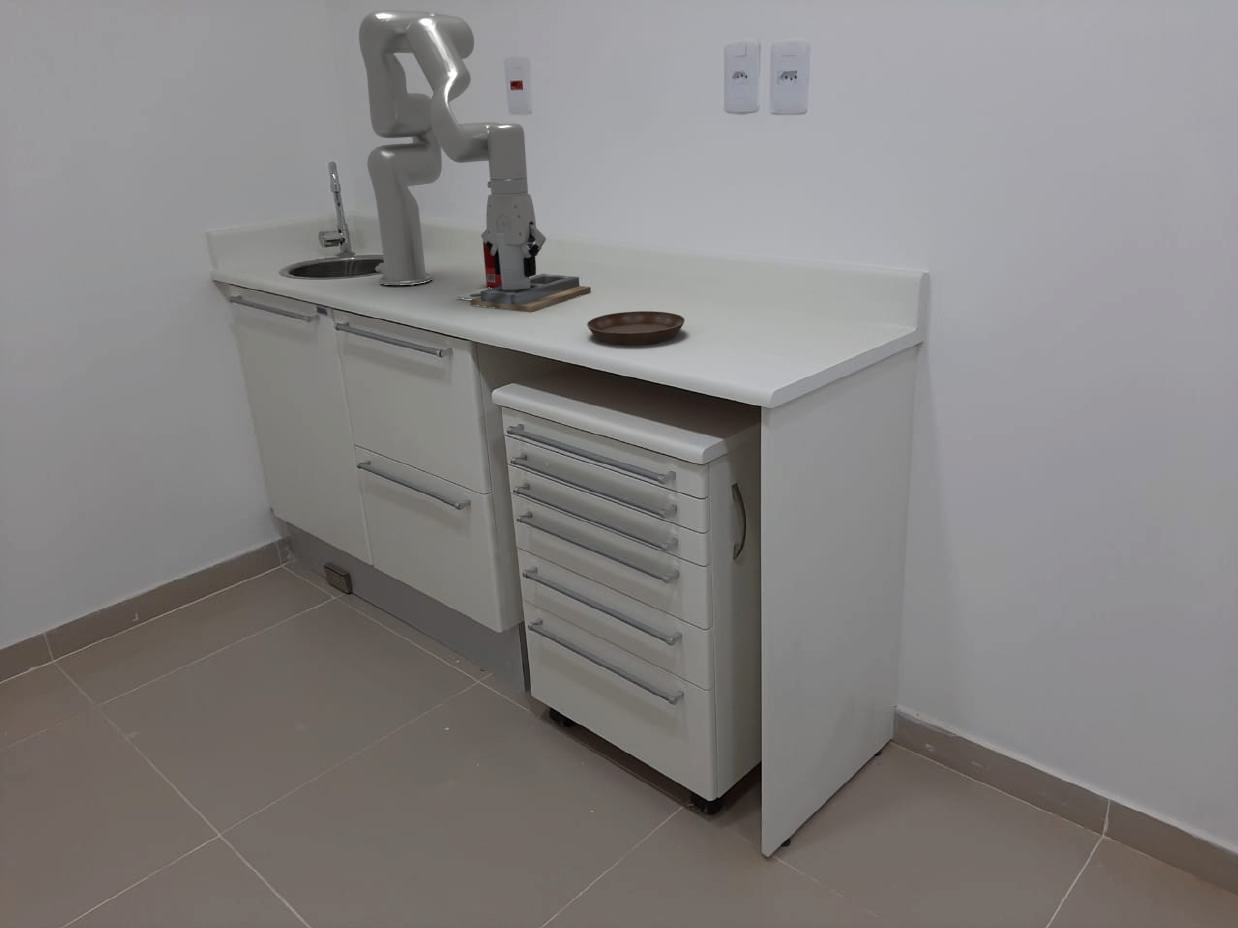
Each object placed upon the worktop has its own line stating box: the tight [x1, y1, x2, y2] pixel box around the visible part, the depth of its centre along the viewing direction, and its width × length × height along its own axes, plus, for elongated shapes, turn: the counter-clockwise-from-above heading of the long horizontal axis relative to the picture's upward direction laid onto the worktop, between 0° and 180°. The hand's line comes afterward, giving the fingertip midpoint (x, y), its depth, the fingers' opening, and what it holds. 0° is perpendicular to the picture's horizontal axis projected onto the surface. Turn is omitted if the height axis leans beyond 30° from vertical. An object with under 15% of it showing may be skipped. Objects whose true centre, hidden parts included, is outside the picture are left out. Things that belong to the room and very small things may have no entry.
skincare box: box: [497, 232, 530, 290], centre depth 202 cm, size 6×4×12 cm
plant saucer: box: [586, 310, 685, 346], centre depth 175 cm, size 18×18×3 cm
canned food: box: [482, 239, 502, 289], centre depth 222 cm, size 8×8×11 cm
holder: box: [469, 273, 592, 313], centre depth 209 cm, size 16×22×3 cm
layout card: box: [455, 287, 489, 299], centre depth 214 cm, size 7×10×1 cm
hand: (515, 274), depth 204 cm, fingers closed on skincare box, 7 cm apart
